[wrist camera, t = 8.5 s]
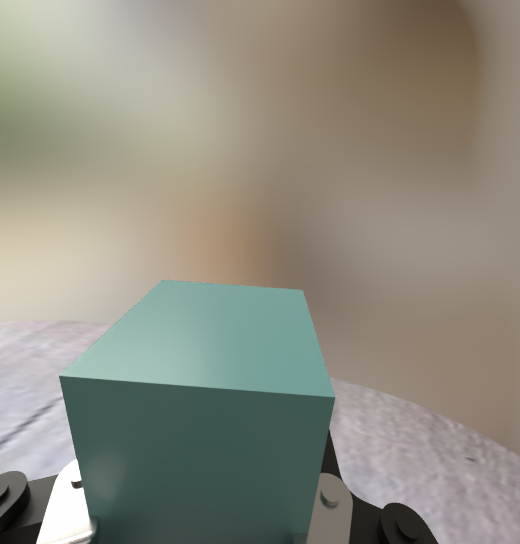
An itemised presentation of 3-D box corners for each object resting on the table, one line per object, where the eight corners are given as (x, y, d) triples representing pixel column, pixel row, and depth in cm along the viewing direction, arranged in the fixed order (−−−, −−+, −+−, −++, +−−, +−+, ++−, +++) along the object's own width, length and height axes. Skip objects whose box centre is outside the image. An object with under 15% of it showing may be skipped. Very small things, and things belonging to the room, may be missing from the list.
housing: (279, 679, 9) (334, 397, 5) (120, 666, 9) (58, 375, 5) (275, 500, 14) (302, 290, 10) (173, 492, 14) (162, 279, 10)
